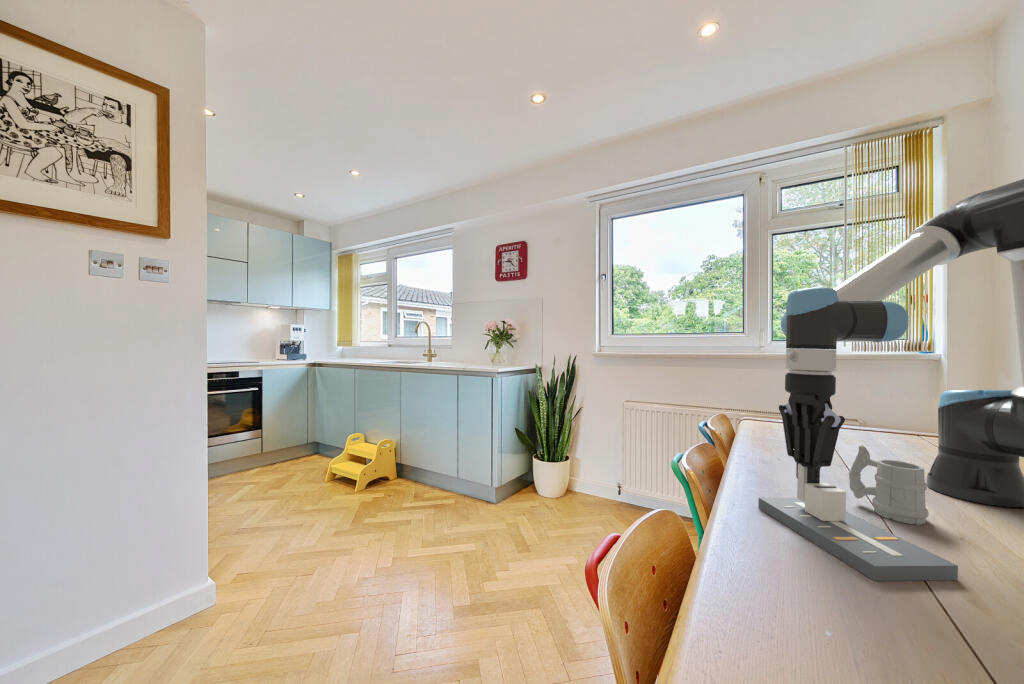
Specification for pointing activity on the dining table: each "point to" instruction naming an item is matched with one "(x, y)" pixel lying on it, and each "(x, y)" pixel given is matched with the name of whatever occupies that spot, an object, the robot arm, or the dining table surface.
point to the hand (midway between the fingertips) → (807, 499)
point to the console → (862, 544)
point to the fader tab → (825, 501)
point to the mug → (892, 488)
